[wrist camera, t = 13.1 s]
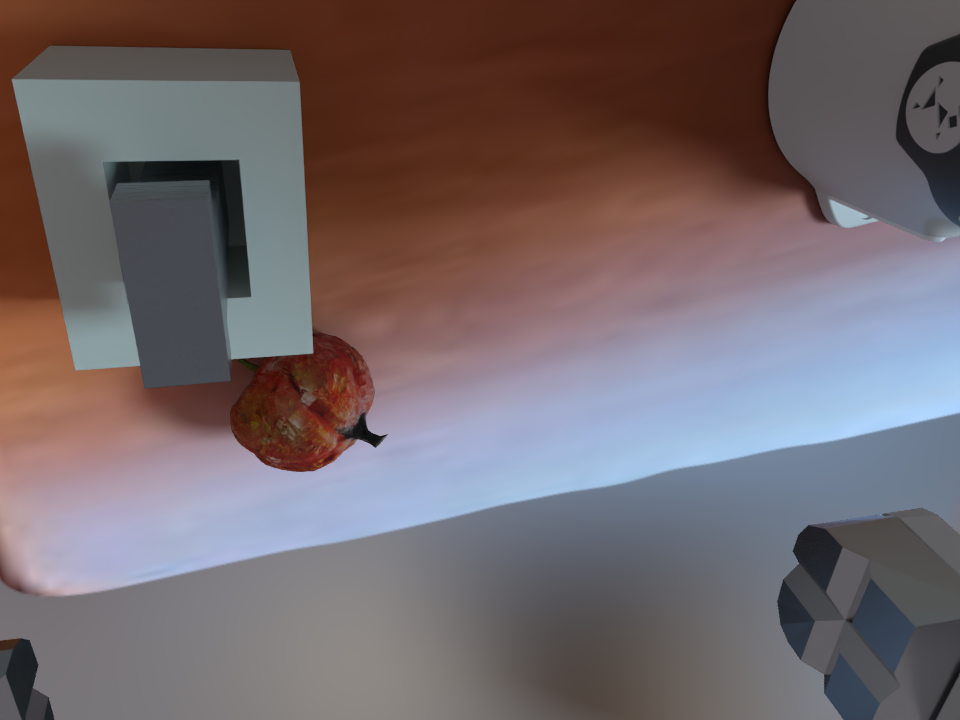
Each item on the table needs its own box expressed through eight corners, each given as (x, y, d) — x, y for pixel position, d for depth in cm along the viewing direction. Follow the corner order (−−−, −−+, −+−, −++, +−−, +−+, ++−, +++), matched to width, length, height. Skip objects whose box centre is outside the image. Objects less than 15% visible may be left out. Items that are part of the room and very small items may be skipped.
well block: (290, 49, 37) (299, 81, 31) (303, 289, 43) (313, 353, 37) (49, 45, 35) (11, 79, 29) (99, 299, 41) (75, 370, 35)
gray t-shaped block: (216, 111, 37) (207, 199, 27) (232, 256, 40) (230, 381, 30) (145, 112, 36) (109, 202, 26) (168, 259, 39) (144, 388, 29)
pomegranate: (230, 394, 48) (365, 494, 46) (151, 413, 41) (307, 531, 39) (291, 288, 46) (432, 387, 45) (220, 287, 39) (385, 405, 37)
